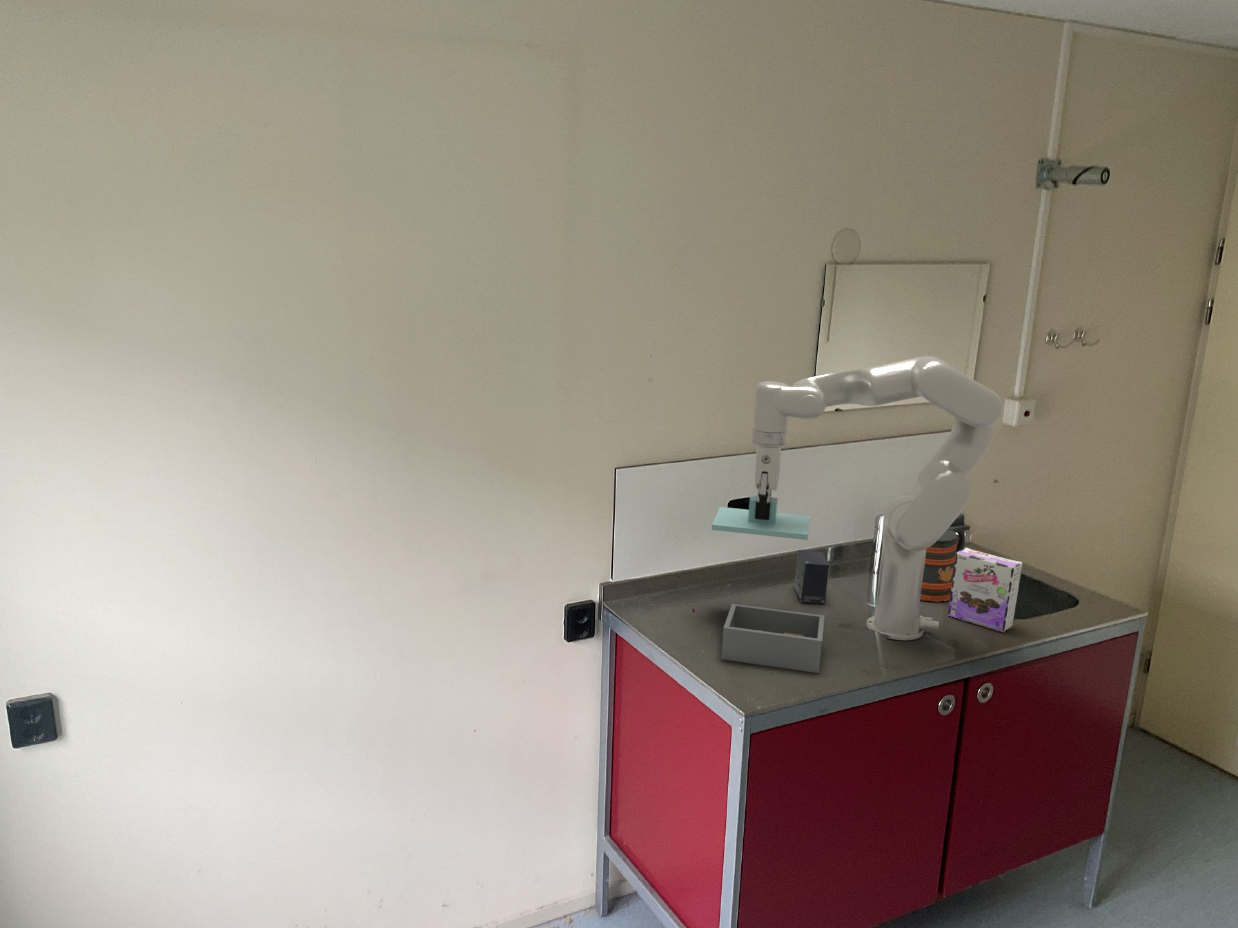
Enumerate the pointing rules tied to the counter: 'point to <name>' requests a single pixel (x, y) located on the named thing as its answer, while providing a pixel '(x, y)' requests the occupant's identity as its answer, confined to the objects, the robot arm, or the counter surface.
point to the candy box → (984, 588)
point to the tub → (773, 638)
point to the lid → (762, 522)
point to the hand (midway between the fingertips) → (762, 515)
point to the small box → (811, 577)
